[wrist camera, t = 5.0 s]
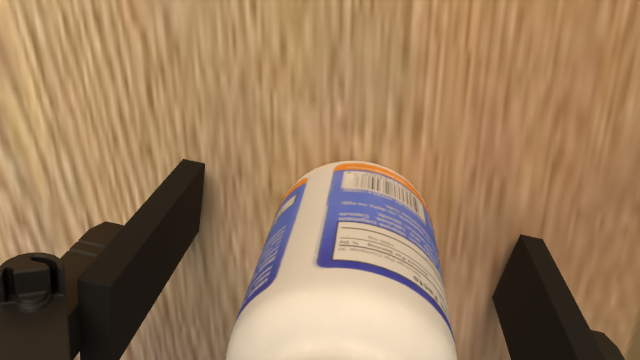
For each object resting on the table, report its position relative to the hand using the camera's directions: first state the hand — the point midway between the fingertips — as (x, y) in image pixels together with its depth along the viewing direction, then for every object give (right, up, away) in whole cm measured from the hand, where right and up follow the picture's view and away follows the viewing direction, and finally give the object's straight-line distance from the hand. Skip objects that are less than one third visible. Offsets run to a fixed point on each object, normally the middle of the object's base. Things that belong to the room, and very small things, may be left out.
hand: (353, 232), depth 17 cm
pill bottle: (0, 0, +1) cm, 1 cm away
